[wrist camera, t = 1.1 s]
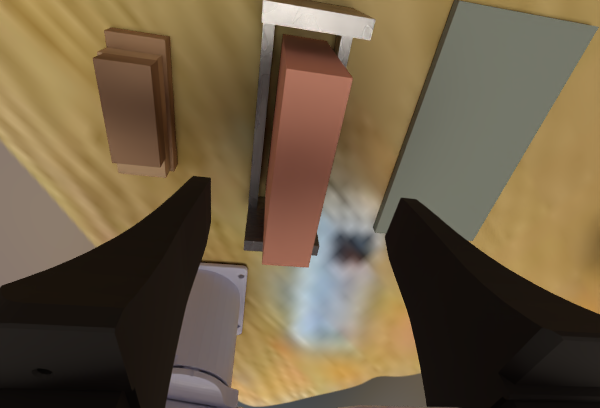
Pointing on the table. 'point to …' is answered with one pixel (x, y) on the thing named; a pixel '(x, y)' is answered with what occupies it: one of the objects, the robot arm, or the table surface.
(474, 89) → the mat
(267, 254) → the salmon pink rectangular block
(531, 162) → the table surface
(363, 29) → the rack
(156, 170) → the offcut stack
